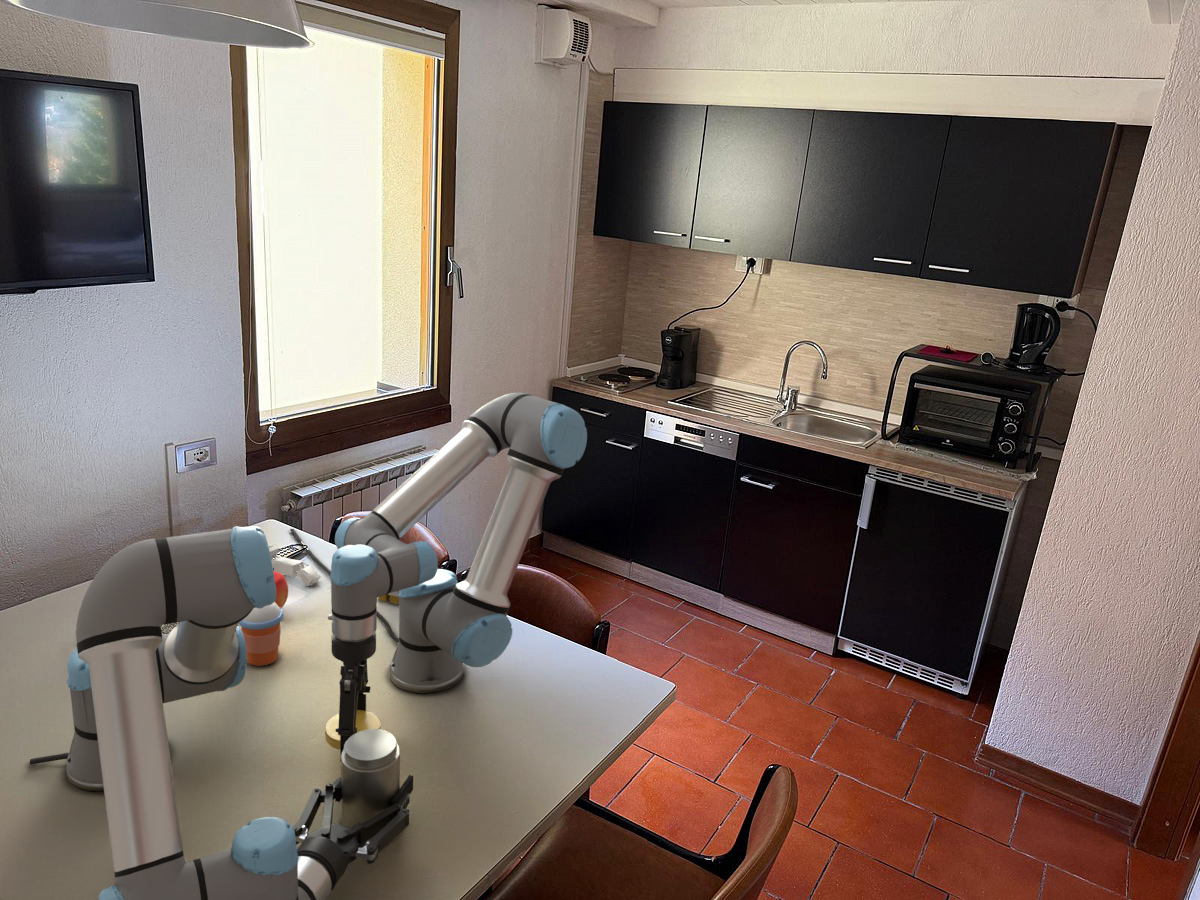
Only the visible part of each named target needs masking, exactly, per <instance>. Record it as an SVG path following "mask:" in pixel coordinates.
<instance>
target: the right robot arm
mask: <svg viewBox="0 0 1200 900" xmlns="http://www.w3.org/2000/svg"><path fill="white" fill-rule="evenodd" d="M585 425H586V423H585V420H584V418H583V416H582V415H581V414H580V413H579V412H578V411H577V410H575V409H573V408H571V407H569V406H567V405H565V404H564V403H563V404H562V403H559V402H555V401H551V400H548V399H545V398H542V397H538V396H535V395H533V394H530V393H527V392H510V393H507V394H504V395H503V394H502V395H501V396H499V397H496V398H494V399H492V400H491V401H489V402H487V403H486V404H484V405H482V406H481V407H479V408H478V409H476V410H475V411H474V412H473V413H472V414H470V415H469V416H468V417H467V418H466V419H465V420H464V421H463V422H462V423H461V430H460V431H459V432H458V433H457V434H455V436H453V437H452V438H451V439H450V440H449V441H447V443H446V444H444V445H443V446H442V447H441V448H440V449H439V450H438V451H437V452H436V453H435V454H433V455H432V456H431V457H430V458H428V460H427V461H426V462H425V463H423V464H422V465H421V466H419V468H418V469H416V471H414V472H413V473H412V474H411V475H410V476H409V477H408V478H407V479H405V480H404V482H402V483H401V484H400V485H399V486H398V487H397V488H396V489H394V490H393V491H392V492H391V493H390V494H389V495H388V496H387V497H385V498H384V499H383V501H381V502H380V503H379V504H378V505H377V506H376V507H375V508H374V509H372V510H371V511H370V512H369V513H368V514H367V515H366V516H364V518H362V517H354V516H353V517H350V518H347V519H345V520H343V521H342V522H341V523H340V524H339V526H338V527H337V530H336V532H335V535H334V543H335V544H334V545H335V546H336V548H337V549H336V550H335V551H334V553H333V554H332V556H331V565H330V569H329V568H328V566H327V567H326V565H325V564H323V563H322V562H321V560H320V559H318V557H317V556H316V555H315V554H314V553H313V552H312V551H311V550H310V549H309V547H308V546H307V545H306V547H307V548H308V549H309V550H307V549H306V550H305V552H306V553H307V554H308V556H310V558H312V560H313V561H314V562H315V563H316V564H317V565H318V566H319V567H320V568H321V569H322V570H324V572H326V574H328V576H329V578H330V593H331V595H330V596H331V598H330V601H331V603H330V604H331V614H330V613H329V615H328V616H327V620H329V621H331V639H330V640H331V655H332V657H334V658H335V659H336V660H338V661H340V662H342V664H341V666H340V673H339V675H340V676H341V678H340V680H339V683H338V684H339V709H338V714H339V728H336V732H338V735H340V750H339V751H340V757H339V758H340V763H341V754H342V751H343V749H344V745H345V742H346V741H347V740H348V739H349V738H350V737H351V736H352V735H354V734H355V733H357V728H356V716H357V710H364V711H367V694H369V693H370V694H371V686H370V685H369V686H368V683H369V679H368V678H369V675H368V659H370V658H371V657H373V656H374V655H375V653H376V650H377V632H376V631H377V629H378V627H377V626H378V625H377V624H378V619H379V620H380V621H381V623H383V625H384V626H385V628H386V629H387V631H388V634H389V635H390V637H391V638H392V639H393V640H394V641H395V642H396V643H397V645H396V648H395V651H394V653H393V656H392V659H391V660H390V664H389V679H390V681H391V682H392V683H393V684H394V685H395V686H396V687H398V688H399V689H401V690H404V691H407V692H410V693H416V694H430V693H431V694H432V693H438V692H441V691H445V690H447V689H450V688H451V687H453V686H455V685H456V684H457V683H458V682H459V681H460V680H461V679H462V676H463V672H464V665H465V666H468V667H471V668H482V667H485V666H487V665H489V664H491V663H493V661H495V660H497V659H498V658H499V657H500V656H501V655H502V654H503V653H504V652H505V651H506V650H507V647H508V646H509V644H510V642H511V639H512V636H513V628H512V622H511V621H510V619H509V618H508V613H509V611H510V608H511V605H512V604H511V601H510V599H509V597H508V592H509V590H510V587H511V585H512V583H513V579H514V577H515V575H516V572H517V569H518V567H519V564H520V562H521V560H522V557H523V554H524V552H525V550H526V549H525V548H526V546H527V543H528V541H529V538H530V536H531V534H532V532H533V529H534V526H535V523H536V521H537V518H538V516H539V513H540V511H541V508H542V506H543V504H544V501H545V498H546V495H547V493H548V490H549V488H550V485H551V483H553V481H556V480H559V479H560V478H561V477H562V476H563V473H564V470H565V469H568V468H572V467H574V466H575V465H576V463H579V461H580V460H581V459H582V457H583V455H584V453H585V450H586V447H587V444H588V443H587V441H588V431H587V430H588V429H587V427H586V426H585ZM506 449H508V452H507V454H506V458H507V460H508V463H509V466H510V468H509V469H508V473H507V475H506V478H505V480H504V483H503V485H502V488H501V490H500V493H499V495H498V498H497V500H496V502H495V506H494V508H493V510H492V513H491V515H490V518H489V521H488V523H487V525H486V528H485V531H484V533H483V535H482V537H481V541H480V543H479V545H478V548H477V551H476V553H475V556H474V559H473V560H472V563H471V566H470V569H469V570H468V574H467V576H466V578H465V579H463V580H462V581H460V582H459V581H458V579H457V578H458V577H457V575H456V574H455V572H453V571H451V570H449V569H443V568H439V567H438V564H439V561H438V555H437V552H436V551H435V549H434V547H433V545H431V544H430V543H429V542H427V541H424V540H421V541H420V540H419V541H412V542H410V543H405V542H403V541H401V540H400V539H401V538H402V537H403V536H404V535H405V534H407V533H408V532H409V530H411V529H412V528H413V527H414V526H415V525H416V524H417V523H418V522H419V521H421V519H423V518H424V517H425V516H426V515H427V514H428V513H429V512H430V511H431V510H432V509H433V508H434V507H435V506H437V505H438V504H439V503H440V502H441V501H442V500H443V499H445V497H446V496H447V495H448V494H449V493H450V492H451V491H453V490H454V489H455V488H456V487H457V486H458V485H459V484H460V483H462V481H463V480H464V479H466V477H467V476H469V475H470V474H471V473H472V472H473V471H474V470H475V469H476V468H477V467H478V466H480V464H481V463H483V462H484V461H485V460H486V459H487V458H495V457H497V455H498V454H500V452H501V451H503V450H506ZM289 530H290V531H291V533H292V535H293V536H294V537H295V539H296V540H297V541H298V543H299V544H300V546H302V545H303V544H302V543H301V541H303V540H302V538H301V537H300V536H299V534H298V533H297V532H296V530H295V528H293V529H291V528H290V529H289ZM303 543H304V544H305V542H304V541H303ZM303 546H304V545H303ZM396 591H399V595H398V597H399V603H398V636H397V635H396V633H394V631H393V629H392V627H391V625H390V623H389V621H388V620H387V619H386V618H385V617H384V616H383V615H382V613H380V612H379V611H377V610H378V609H377V604H378V597H380V596H383V595H387V594H389V593H393V592H396ZM366 693H367V694H366Z"/></svg>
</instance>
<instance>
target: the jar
mask: <svg viewBox="0 0 1200 900" xmlns="http://www.w3.org/2000/svg"><path fill="white" fill-rule="evenodd" d="M340 772H341V773H340V775H341V776H340V777H341V784H342V800H341V826H348V827H352V826H354V825H356V824H357V823H360V824H362V823H364V822H365V821H367V820H369V819H370V818H372V817H374V816H375V815H377V814H379V813H381V812H382V811H384V810H386V809H387V808H389V807H391V800H392V799H393V797H394V796H395V794H396V793H397V792H398V790H399V789H400V787H401V786H400V785H401V782H400V780H401V749H400V746H399V744H398V740H397V739H396V737H395V735H394V734H392V733H391V732H390V731H388V730H384V729H368V730H363V731H360V732H357V733H355V734H354V735H352V736H351V737H350V738H349V739H348V740H347V741H346V742H345V745H344V749H343V751H342V754H341V762H340ZM373 837H374V836H373ZM373 837H372V838H373ZM372 838H370V839H368V840H367V841H371V839H372ZM367 841H366V842H367ZM366 842H365V844H364V845H363V846H365V845H366Z"/></svg>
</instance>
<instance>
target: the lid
mask: <svg viewBox="0 0 1200 900" xmlns="http://www.w3.org/2000/svg"><path fill="white" fill-rule="evenodd" d="M381 724H382V723H381V719H380V717H379V716H378V715H377V714H375V713H373V712H372V711H368V710H366V711H364V710H357V716H356V728H357V732H360V731H363V730H368V729H381V727H382V725H381ZM336 728H339V713H337V714H335V715H333V716H332V717H330V718H329V719H328V720H327V722H326V724H325V727H324V733H325V734H324V737H325V742H326V743H327V744H328V745H329V746H330V747H331V748H333V749H335V750H338V751H340V735H338V732H336ZM381 730H382V729H381Z"/></svg>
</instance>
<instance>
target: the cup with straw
mask: <svg viewBox="0 0 1200 900" xmlns="http://www.w3.org/2000/svg"><path fill="white" fill-rule="evenodd" d="M284 616H285V614H284V610H283V608H280V607H278V605H277V604H276V603H275V602H274V603H273V604H271V605H267V606H264V607H263V608H259V609H258V608H253V610H252V611H251V612H250V614H249V615H248V616H247V617H246V618H245V619H243V620H242V621H241V622H239V623H238V626H239V627H240V629H241V631H242V633H243V636H244V640H245V644H246V652H247V663H248V664H249V665H252V666H259V667H261V666H268V665H271V664H273V663H274V662H275V661H277V659H278V657H279V647H280V644H281V630H282V624H281V622H282V621H283V620H284Z"/></svg>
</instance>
